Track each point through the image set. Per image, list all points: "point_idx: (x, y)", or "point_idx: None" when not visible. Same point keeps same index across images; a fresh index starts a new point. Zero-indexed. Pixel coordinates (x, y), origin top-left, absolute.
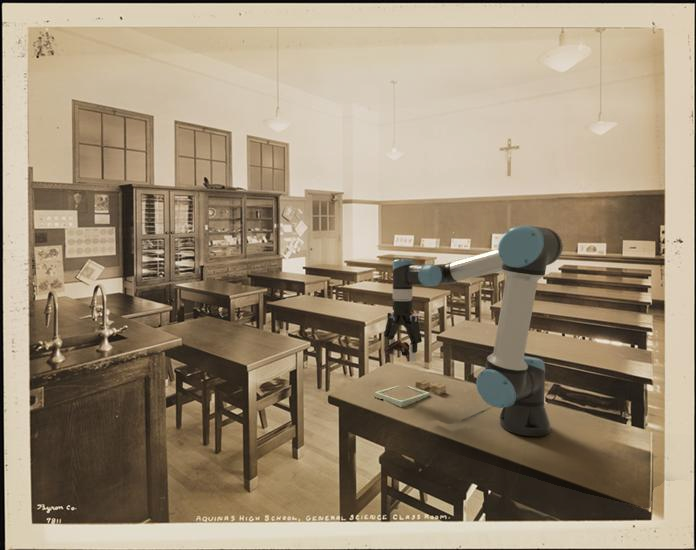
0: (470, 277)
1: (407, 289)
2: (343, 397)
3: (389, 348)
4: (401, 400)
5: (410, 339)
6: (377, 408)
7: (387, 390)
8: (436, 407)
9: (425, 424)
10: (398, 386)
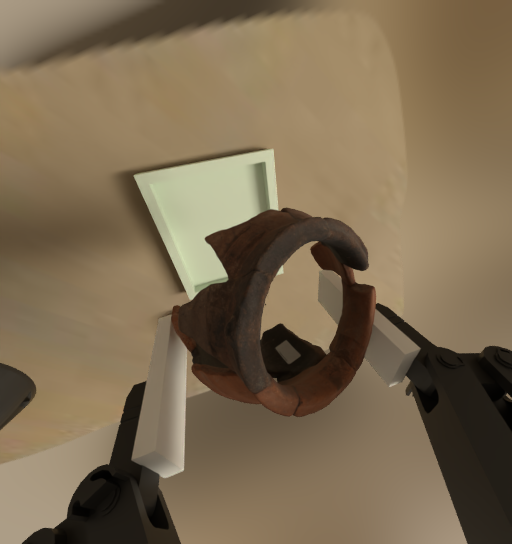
0: None
1: None
2: (334, 20)
3: (266, 246)
4: (188, 207)
5: (136, 537)
6: (156, 71)
7: (269, 208)
8: (110, 271)
9: None
10: None
